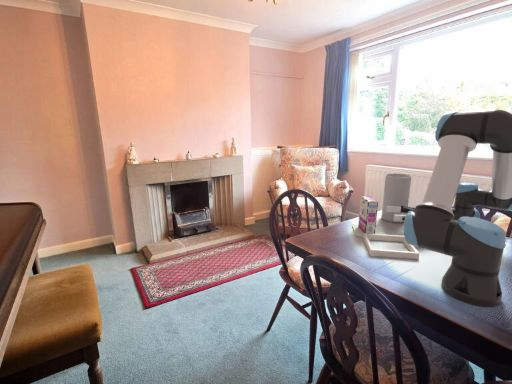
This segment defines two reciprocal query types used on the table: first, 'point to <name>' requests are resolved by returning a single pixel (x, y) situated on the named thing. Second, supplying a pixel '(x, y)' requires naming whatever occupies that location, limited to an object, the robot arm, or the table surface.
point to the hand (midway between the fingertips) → (390, 213)
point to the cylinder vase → (395, 194)
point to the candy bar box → (368, 214)
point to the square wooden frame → (390, 253)
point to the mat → (360, 233)
